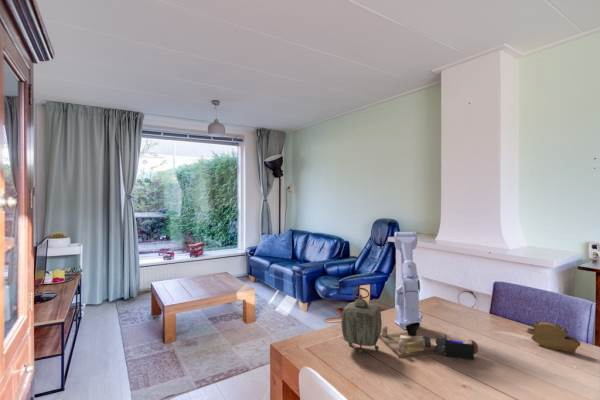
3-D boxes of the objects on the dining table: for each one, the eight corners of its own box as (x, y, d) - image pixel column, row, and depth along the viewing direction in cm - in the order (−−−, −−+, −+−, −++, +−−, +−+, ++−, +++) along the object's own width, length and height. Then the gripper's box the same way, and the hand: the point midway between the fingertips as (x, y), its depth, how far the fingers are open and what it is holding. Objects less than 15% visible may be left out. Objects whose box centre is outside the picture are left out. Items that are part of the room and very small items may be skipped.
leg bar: (429, 343, 126) (429, 335, 126) (431, 347, 124) (431, 339, 124) (400, 342, 128) (400, 334, 128) (401, 345, 126) (401, 337, 126)
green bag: (382, 348, 126) (380, 286, 126) (377, 359, 118) (376, 293, 118) (347, 342, 132) (345, 283, 132) (340, 352, 124) (339, 289, 124)
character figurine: (434, 350, 125) (477, 356, 119) (435, 357, 118) (480, 364, 112) (433, 330, 125) (476, 335, 120) (434, 336, 118) (480, 342, 113)
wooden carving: (580, 352, 119) (580, 326, 119) (580, 357, 116) (579, 330, 116) (527, 340, 130) (526, 316, 130) (525, 344, 127) (525, 319, 127)
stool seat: (378, 338, 136) (378, 325, 136) (414, 333, 139) (414, 321, 139) (399, 357, 119) (398, 343, 119) (439, 351, 122) (438, 338, 122)
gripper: (411, 314, 120) (411, 349, 121) (429, 305, 130) (430, 337, 130) (394, 309, 126) (395, 343, 126) (413, 300, 135) (414, 332, 136)
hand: (411, 340), depth 129 cm, fingers closed, pressing on leg bar
